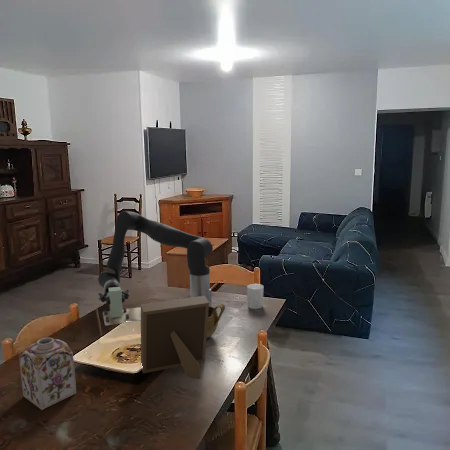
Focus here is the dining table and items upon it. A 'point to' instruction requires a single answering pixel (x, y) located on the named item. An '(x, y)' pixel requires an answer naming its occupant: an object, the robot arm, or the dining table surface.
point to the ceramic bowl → (213, 318)
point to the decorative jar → (47, 372)
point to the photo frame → (174, 335)
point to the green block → (115, 302)
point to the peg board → (128, 315)
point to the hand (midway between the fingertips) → (116, 301)
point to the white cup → (255, 296)
